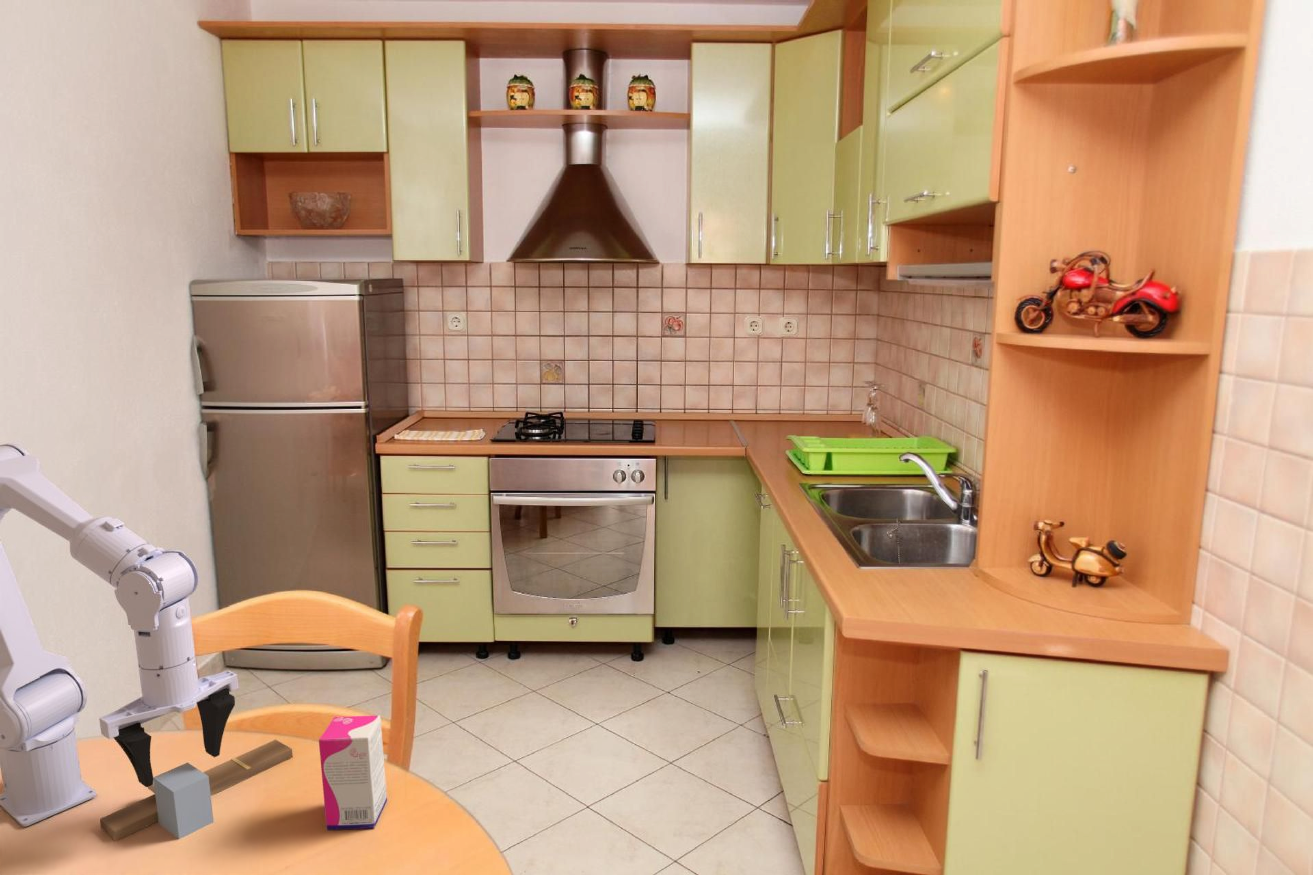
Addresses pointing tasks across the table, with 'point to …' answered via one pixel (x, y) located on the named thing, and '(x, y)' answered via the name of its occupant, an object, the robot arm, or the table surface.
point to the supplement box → (353, 772)
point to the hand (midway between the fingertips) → (180, 767)
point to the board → (219, 780)
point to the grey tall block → (183, 800)
